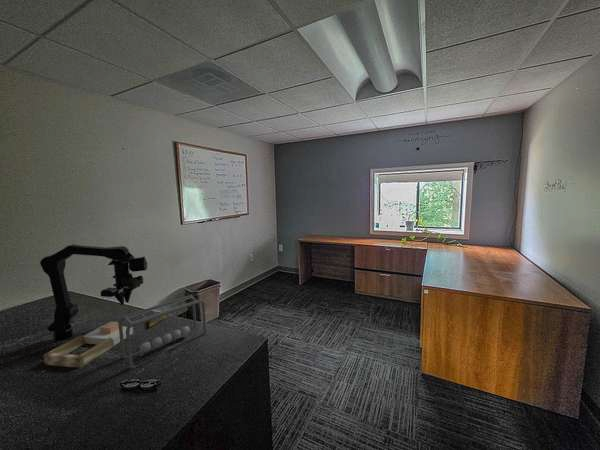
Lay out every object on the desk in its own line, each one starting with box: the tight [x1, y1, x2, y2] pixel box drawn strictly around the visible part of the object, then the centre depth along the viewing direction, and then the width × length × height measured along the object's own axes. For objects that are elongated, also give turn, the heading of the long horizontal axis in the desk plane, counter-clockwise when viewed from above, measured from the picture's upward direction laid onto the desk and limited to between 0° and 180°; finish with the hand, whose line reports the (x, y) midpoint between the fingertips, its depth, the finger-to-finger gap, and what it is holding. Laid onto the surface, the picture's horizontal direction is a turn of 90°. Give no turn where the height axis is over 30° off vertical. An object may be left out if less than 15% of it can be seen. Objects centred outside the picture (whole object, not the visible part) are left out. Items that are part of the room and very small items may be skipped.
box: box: [43, 334, 114, 369], centre depth 98 cm, size 16×14×4 cm
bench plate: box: [83, 324, 134, 347], centre depth 110 cm, size 16×10×3 cm, turn 82°
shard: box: [148, 315, 167, 328], centre depth 124 cm, size 11×8×2 cm
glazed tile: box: [99, 321, 119, 334], centre depth 112 cm, size 6×6×2 cm
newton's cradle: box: [117, 294, 207, 370], centre depth 102 cm, size 30×10×18 cm, turn 140°
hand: (124, 303), depth 119 cm, fingers closed
